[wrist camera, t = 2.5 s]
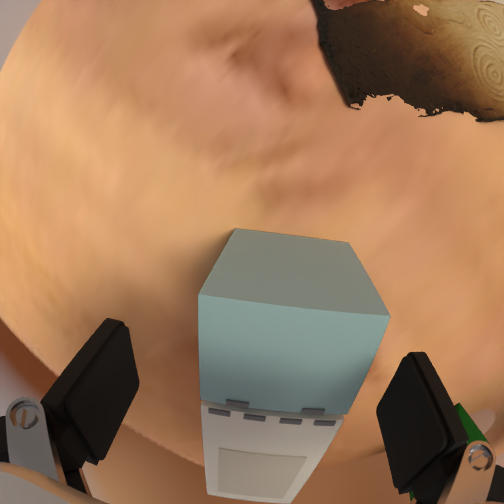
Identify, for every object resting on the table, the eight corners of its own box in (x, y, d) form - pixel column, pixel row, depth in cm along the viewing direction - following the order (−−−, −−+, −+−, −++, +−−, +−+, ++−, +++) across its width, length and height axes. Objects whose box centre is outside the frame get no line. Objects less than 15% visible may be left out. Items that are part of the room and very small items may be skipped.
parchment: (544, 6, 5) (550, 4, 4) (584, 109, 7) (590, 110, 7) (290, -4, 11) (290, -12, 10) (361, 153, 13) (365, 153, 13)
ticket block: (328, 327, 17) (344, 421, 10) (292, 434, 21) (289, 504, 14) (229, 315, 17) (200, 406, 10) (223, 426, 21) (207, 495, 15)
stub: (348, 242, 15) (391, 317, 8) (329, 321, 16) (347, 416, 10) (235, 228, 15) (197, 295, 8) (229, 309, 17) (199, 401, 10)
